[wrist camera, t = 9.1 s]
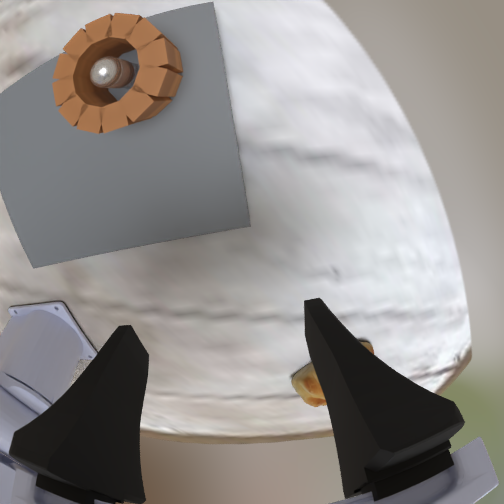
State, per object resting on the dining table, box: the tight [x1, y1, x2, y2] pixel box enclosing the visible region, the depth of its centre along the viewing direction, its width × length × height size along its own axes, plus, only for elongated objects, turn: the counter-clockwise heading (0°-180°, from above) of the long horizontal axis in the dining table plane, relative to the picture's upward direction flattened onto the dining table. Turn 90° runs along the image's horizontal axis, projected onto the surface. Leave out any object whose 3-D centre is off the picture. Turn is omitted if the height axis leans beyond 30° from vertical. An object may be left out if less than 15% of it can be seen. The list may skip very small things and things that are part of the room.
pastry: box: [291, 342, 374, 407], centre depth 27 cm, size 9×7×4 cm
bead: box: [52, 13, 183, 134], centre depth 10 cm, size 6×6×4 cm
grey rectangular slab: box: [0, 2, 251, 269], centre depth 14 cm, size 18×14×2 cm
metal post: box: [90, 56, 140, 89], centre depth 10 cm, size 2×2×4 cm
